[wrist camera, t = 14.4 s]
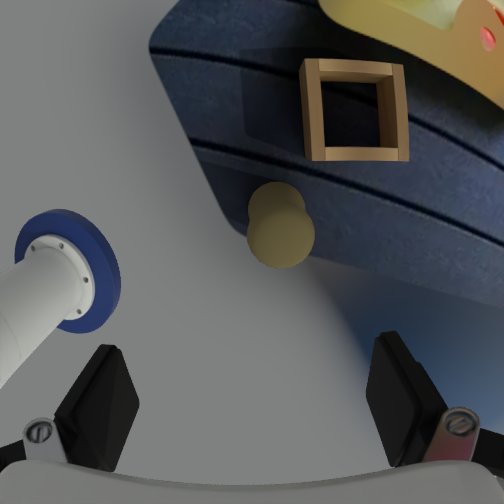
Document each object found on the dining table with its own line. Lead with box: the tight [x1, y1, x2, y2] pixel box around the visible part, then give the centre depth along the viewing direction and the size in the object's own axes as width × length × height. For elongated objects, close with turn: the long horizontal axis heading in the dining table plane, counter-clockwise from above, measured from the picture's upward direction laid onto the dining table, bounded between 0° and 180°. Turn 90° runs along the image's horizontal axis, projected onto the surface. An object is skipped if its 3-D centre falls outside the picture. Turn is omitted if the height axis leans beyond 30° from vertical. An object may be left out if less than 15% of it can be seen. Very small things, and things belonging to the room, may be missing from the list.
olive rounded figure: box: [247, 182, 315, 268], centre depth 28 cm, size 6×6×11 cm
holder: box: [299, 59, 409, 161], centre depth 27 cm, size 9×9×5 cm
